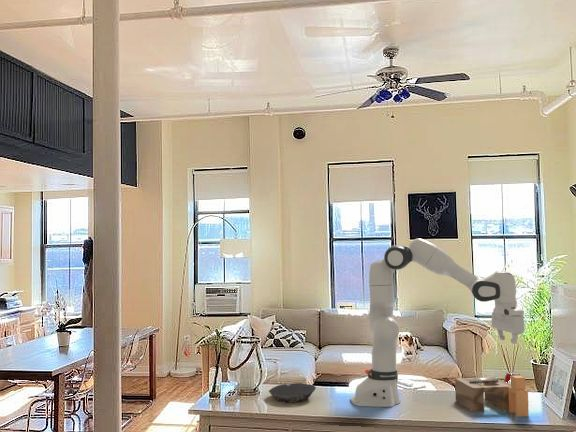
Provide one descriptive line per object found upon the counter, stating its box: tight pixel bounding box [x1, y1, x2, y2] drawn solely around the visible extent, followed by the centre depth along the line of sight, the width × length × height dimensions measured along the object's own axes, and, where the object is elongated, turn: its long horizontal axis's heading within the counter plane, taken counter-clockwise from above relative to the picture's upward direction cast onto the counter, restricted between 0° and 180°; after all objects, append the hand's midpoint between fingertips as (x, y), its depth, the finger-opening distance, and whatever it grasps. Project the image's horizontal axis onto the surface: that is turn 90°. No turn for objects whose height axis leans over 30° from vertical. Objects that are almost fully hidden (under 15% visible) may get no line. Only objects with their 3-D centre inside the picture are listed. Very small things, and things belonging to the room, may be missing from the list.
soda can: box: [504, 371, 521, 383], centre depth 249 cm, size 7×7×12 cm
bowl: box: [268, 382, 317, 404], centre depth 251 cm, size 22×22×5 cm
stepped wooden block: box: [508, 374, 529, 418], centre depth 227 cm, size 5×6×16 cm
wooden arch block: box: [454, 376, 511, 413], centre depth 240 cm, size 19×17×12 cm
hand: (507, 341), depth 232 cm, fingers open, 8 cm apart
